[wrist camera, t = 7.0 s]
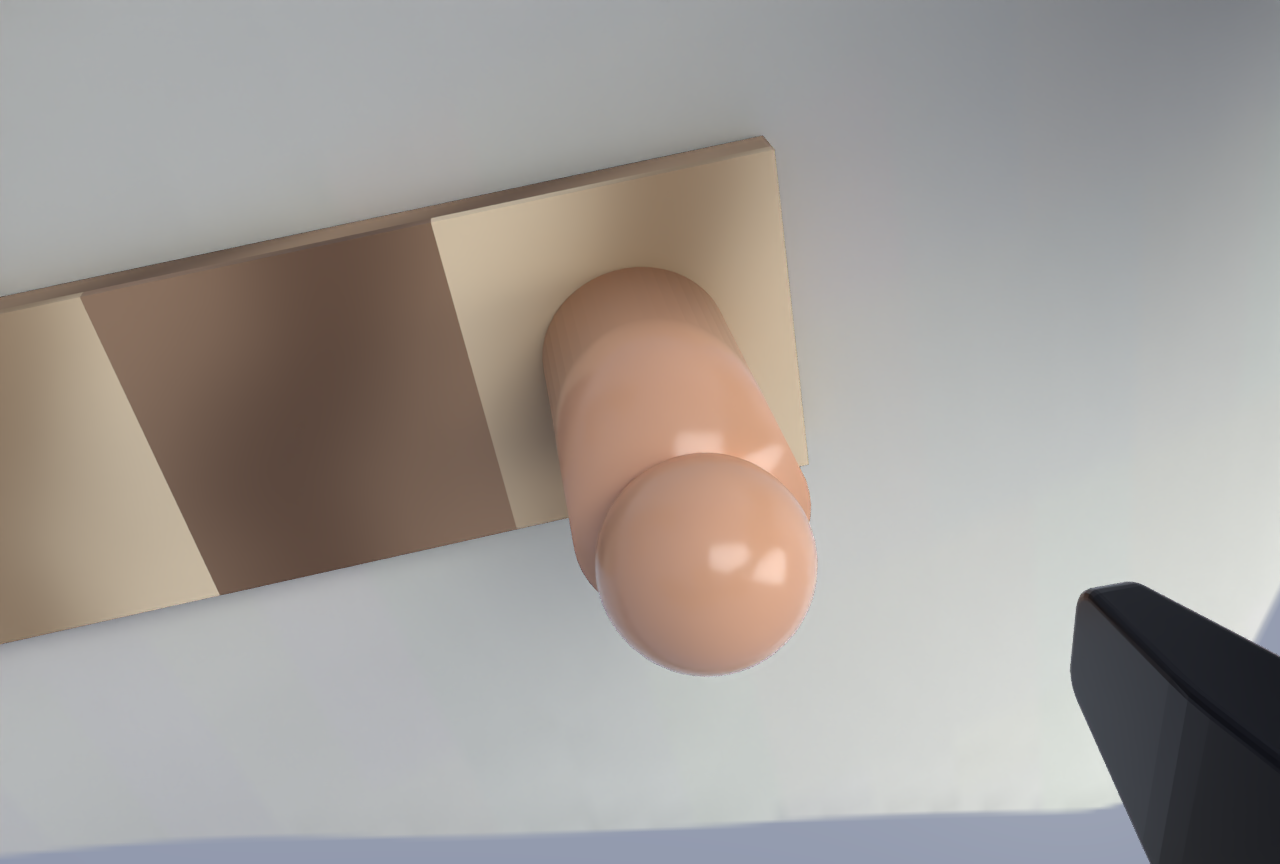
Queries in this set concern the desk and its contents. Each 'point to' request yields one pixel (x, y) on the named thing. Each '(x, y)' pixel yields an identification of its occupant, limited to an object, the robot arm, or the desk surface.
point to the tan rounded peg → (676, 475)
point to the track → (343, 385)
